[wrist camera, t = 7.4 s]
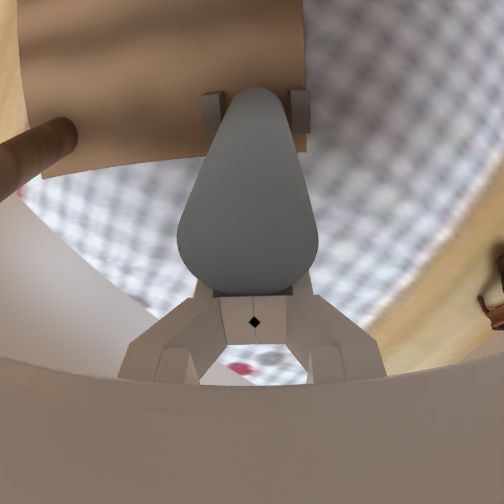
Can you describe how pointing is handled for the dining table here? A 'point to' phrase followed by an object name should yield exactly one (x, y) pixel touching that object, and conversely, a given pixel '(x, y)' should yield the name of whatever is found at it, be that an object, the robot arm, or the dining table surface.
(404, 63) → the dining table surface
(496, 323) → the pottery mug
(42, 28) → the stool seat
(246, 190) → the hinged leg
